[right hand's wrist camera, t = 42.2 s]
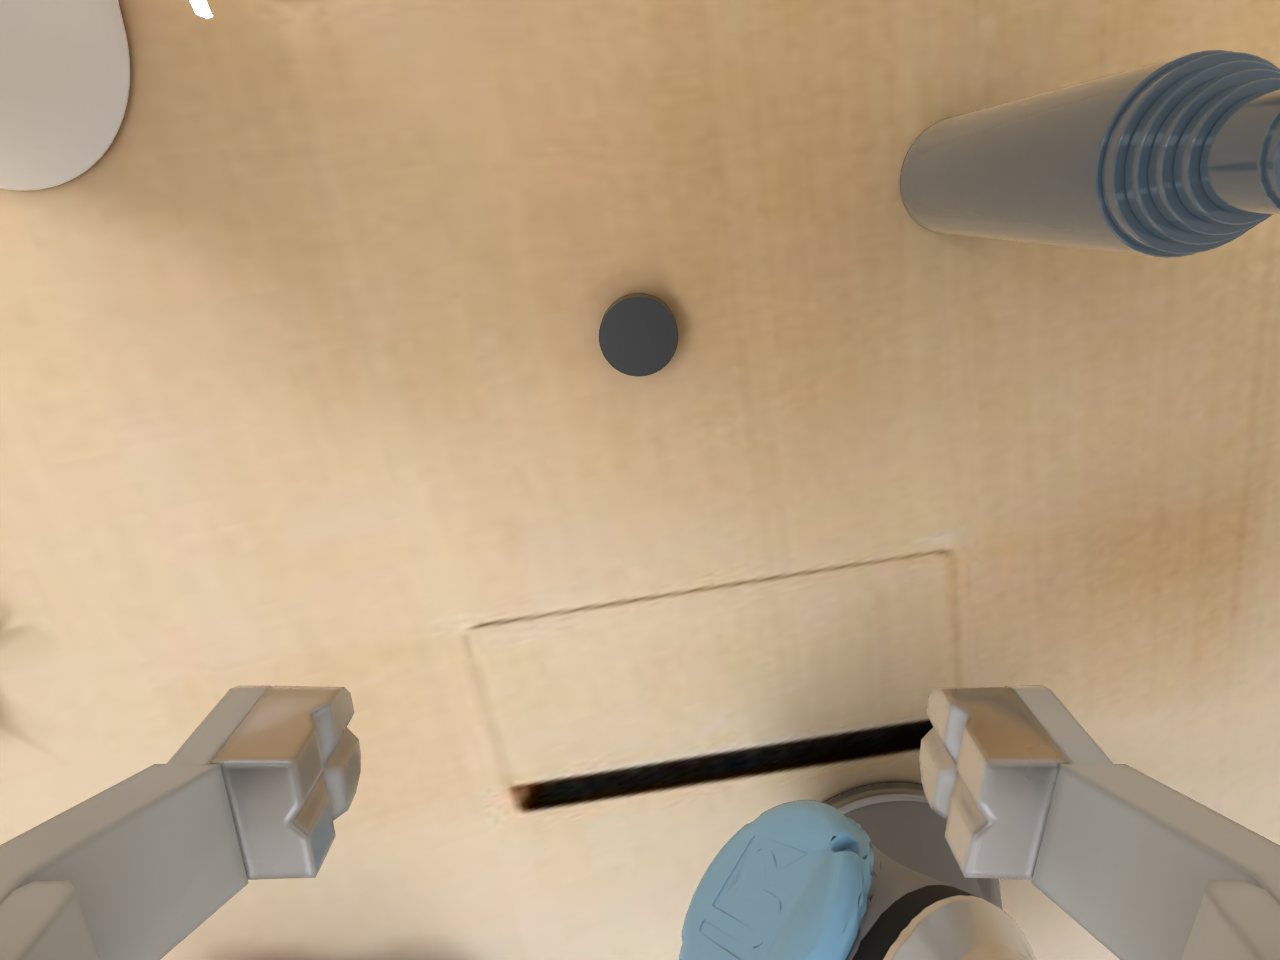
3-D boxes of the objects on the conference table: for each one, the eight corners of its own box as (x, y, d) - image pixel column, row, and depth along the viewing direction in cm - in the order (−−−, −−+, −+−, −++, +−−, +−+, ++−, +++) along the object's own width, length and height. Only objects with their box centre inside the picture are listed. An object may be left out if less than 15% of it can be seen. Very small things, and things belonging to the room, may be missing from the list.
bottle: (1028, 188, 40) (1501, 174, 18) (932, 255, 42) (1267, 318, 19) (977, 91, 39) (1428, -54, 17) (879, 164, 40) (1178, 118, 18)
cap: (607, 286, 42) (606, 289, 41) (683, 301, 43) (685, 305, 41) (594, 361, 44) (592, 368, 42) (668, 375, 44) (669, 382, 42)
